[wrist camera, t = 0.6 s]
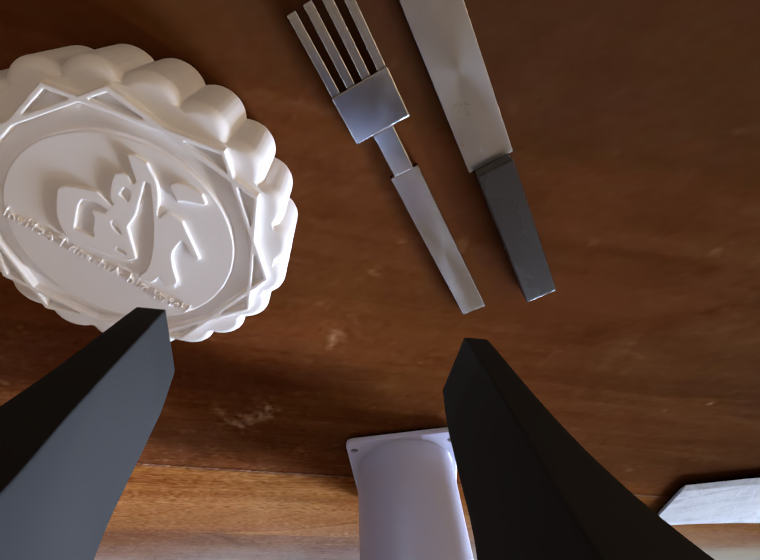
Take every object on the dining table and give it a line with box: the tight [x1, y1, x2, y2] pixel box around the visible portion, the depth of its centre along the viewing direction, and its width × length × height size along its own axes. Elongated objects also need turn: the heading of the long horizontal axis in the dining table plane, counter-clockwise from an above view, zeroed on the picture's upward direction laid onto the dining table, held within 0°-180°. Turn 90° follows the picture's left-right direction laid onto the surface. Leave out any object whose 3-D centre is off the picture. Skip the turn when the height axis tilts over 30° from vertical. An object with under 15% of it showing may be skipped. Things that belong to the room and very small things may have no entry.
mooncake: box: [0, 44, 298, 342], centre depth 16 cm, size 12×12×4 cm
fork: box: [287, 0, 485, 314], centre depth 18 cm, size 16×2×1 cm, turn 28°
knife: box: [399, 0, 556, 302], centre depth 17 cm, size 17×2×1 cm, turn 28°
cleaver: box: [656, 477, 760, 525], centre depth 39 cm, size 29×1×10 cm
